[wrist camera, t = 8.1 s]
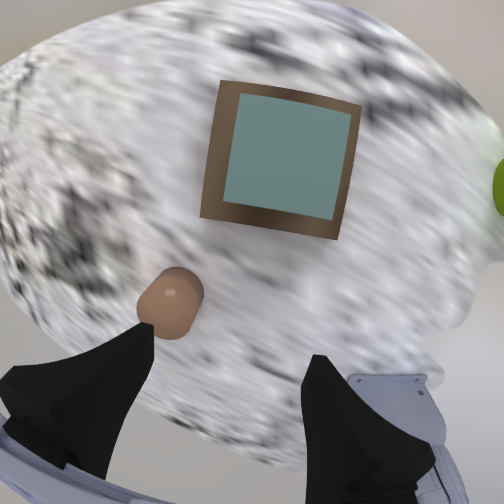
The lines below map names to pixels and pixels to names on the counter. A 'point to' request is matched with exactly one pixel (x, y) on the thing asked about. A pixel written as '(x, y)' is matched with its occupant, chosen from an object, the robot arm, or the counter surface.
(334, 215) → the base
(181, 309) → the tan round knob
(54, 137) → the counter surface
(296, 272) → the counter surface
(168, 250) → the counter surface
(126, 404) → the robot arm
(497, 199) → the soap dispenser
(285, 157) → the cube
